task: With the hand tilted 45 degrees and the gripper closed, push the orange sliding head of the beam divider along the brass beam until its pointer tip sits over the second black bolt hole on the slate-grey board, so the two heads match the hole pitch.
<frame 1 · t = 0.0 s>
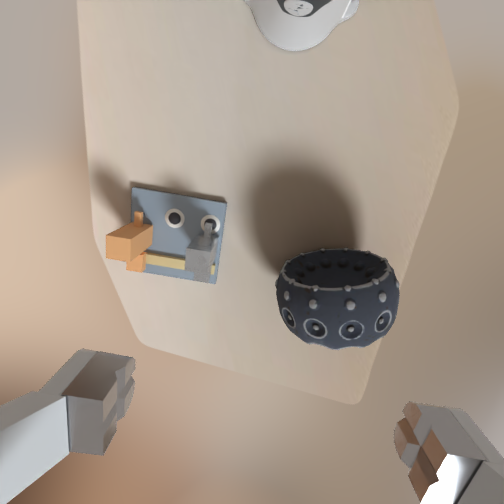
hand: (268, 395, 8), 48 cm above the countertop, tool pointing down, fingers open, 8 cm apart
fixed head: (208, 243, 56), resting on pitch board
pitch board: (177, 236, 57), on the countertop
sliding head: (131, 245, 51), point 7 cm above the countertop, slide at 0.0 cm
dark rounded piece: (322, 270, 59), on the countertop
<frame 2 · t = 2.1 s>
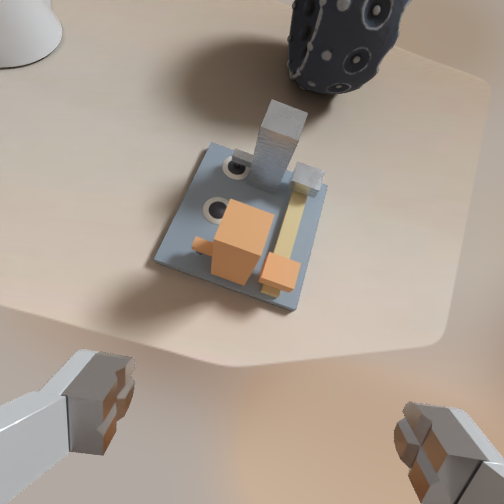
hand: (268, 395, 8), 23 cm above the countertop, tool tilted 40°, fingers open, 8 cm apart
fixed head: (264, 178, 38), resting on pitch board
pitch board: (248, 222, 36), on the countertop
sliding head: (248, 251, 28), point 6 cm above the countertop, slide at 0.0 cm
dark rounded piece: (314, 78, 48), on the countertop
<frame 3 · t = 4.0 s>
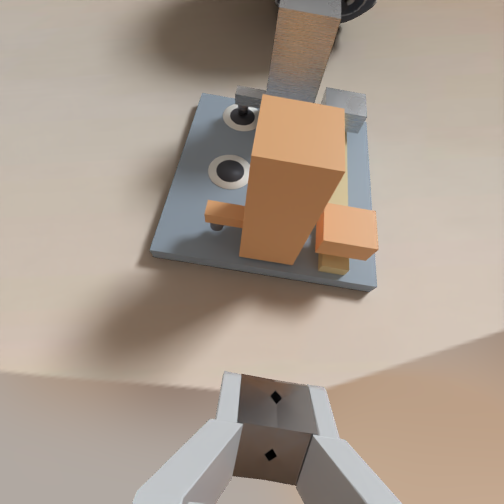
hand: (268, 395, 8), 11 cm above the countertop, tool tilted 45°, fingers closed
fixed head: (282, 124, 28), resting on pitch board
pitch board: (274, 184, 26), on the countertop
sliding head: (297, 200, 17), point 6 cm above the countertop, slide at 0.0 cm
dark rounded piece: (309, 18, 40), on the countertop
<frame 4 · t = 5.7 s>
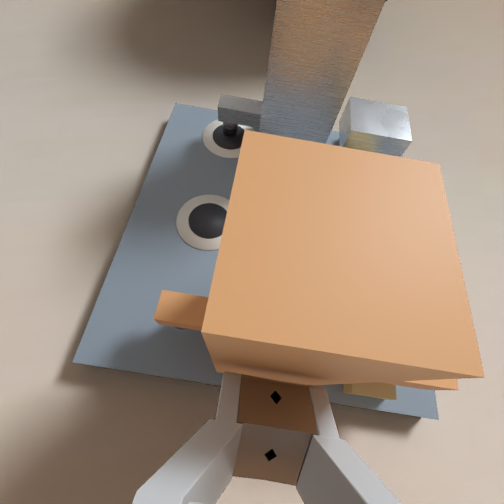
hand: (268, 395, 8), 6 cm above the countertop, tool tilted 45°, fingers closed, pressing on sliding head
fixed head: (286, 147, 20), resting on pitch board
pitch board: (273, 235, 18), on the countertop
sliding head: (316, 312, 9), point 7 cm above the countertop, slide at 0.0 cm, touching gripper
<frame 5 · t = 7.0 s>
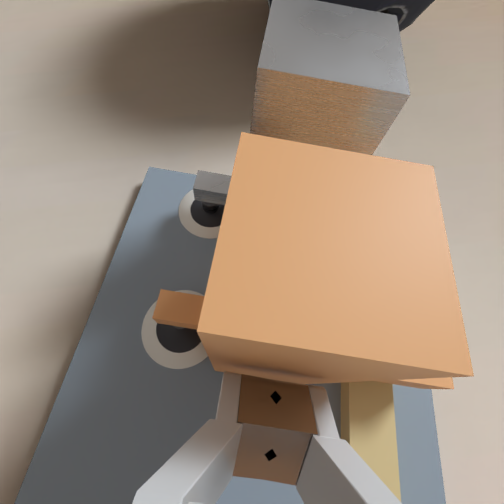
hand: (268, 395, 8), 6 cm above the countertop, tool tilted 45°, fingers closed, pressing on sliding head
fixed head: (276, 222, 17), resting on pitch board
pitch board: (260, 334, 15), on the countertop
sliding head: (313, 312, 9), point 6 cm above the countertop, slide at 6.3 cm, touching gripper
dark rounded piece: (316, 37, 29), on the countertop
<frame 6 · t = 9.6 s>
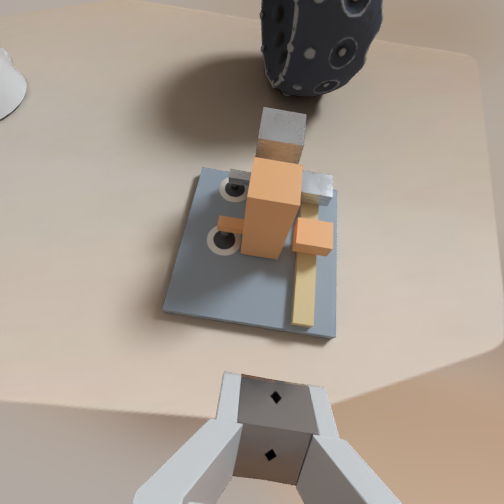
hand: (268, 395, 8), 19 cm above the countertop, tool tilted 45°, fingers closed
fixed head: (267, 194, 34), resting on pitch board
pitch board: (259, 246, 32), on the countertop
sliding head: (278, 217, 26), point 6 cm above the countertop, slide at 6.5 cm
dark rounded piece: (295, 83, 46), on the countertop
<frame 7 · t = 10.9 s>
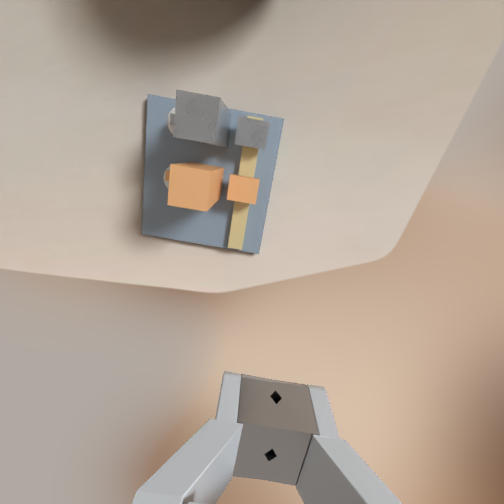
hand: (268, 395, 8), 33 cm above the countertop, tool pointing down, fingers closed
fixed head: (213, 128, 36), resting on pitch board
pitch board: (209, 179, 39), on the countertop
sliding head: (208, 185, 33), point 6 cm above the countertop, slide at 6.5 cm
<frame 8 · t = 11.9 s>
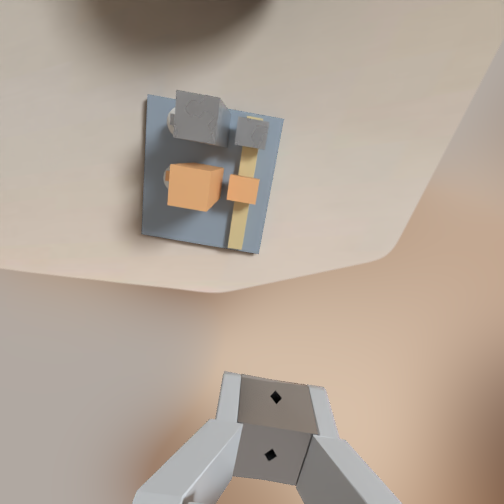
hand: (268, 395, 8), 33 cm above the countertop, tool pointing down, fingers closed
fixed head: (213, 128, 36), resting on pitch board
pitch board: (209, 179, 39), on the countertop
sliding head: (208, 185, 33), point 6 cm above the countertop, slide at 6.5 cm
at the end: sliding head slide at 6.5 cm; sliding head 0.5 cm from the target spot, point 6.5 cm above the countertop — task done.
